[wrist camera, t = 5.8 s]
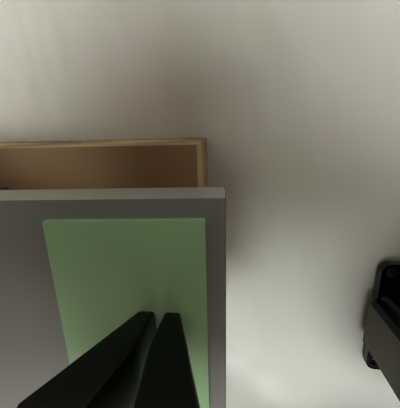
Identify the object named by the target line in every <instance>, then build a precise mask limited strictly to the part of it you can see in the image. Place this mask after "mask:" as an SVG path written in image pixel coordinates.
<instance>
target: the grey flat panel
mask: <svg viewBox="0 0 400 408" xmlns="http://www.w3.org/2000/svg"><path fill="white" fill-rule="evenodd" d="M139 311H152V312H154V314H155V319H156V331H157V329H158V327H159V324H160V322H161V320H162V318H163V316H164V314H165V313H167V312H172V313H180V315H181V319H182V324H183V329H184V333H185V338H186V343H187V347H188V352H189V357H190V361H191V366H192V371H193V375H194V380H195V385H196V389H197V394H198V399H199V403H200V408H226V197H225V189H224V187H177V188H106V189H35V190H0V408H14V407H15V408H17V405H18V404H19V403H20V402H22V401H23V400H24V399H26V398H27V397H28V396H29V395H31V394H32V393H33V392H35V391H36V390H37V389H39V388H40V387H41V386H42V385H44V384H45V383H46V382H48V381H49V380H50V379H52V378H53V377H54V376H55V375H57V374H58V373H59V372H61V371H62V370H63V369H65V368H66V367H67V366H69V365H70V364H71V363H72V362H74V361H75V360H76V359H78V358H79V357H80V356H82V355H83V354H84V353H85V352H87V351H88V350H89V349H91V348H92V347H93V346H95V345H96V344H97V343H98V342H100V341H101V340H102V339H104V338H105V337H106V336H108V335H109V334H110V333H111V332H113V331H114V330H115V329H117V328H118V327H119V326H121V325H122V324H123V323H125V322H126V321H127V320H128V319H130V318H131V317H132V316H134V315H135V314H136V313H138V312H139Z"/></svg>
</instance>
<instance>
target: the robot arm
mask: <svg viewBox="0 0 400 408" xmlns="http://www.w3.org/2000/svg"><path fill="white" fill-rule="evenodd" d="M390 269H393V271H392V272H391V273H390V274H387V272H388V271H389V270H390ZM363 342H364V343H365V347H364V353H363V359H364V361H365V362H366V364H367V366H368V367H370V368H372V369H380V370H381V371H382V373H383V375H384V376H385V378H386V380H387V381H388V383H389V384H390V386H391V388H392V389H393V391H394V393H395V394H396V396H397V398H398V399H399V401H400V261H385V262H383V263H381V264H380V265H379V267H378V269H377V275H376V281H375V287H374V293H373V299H372V300H371V301H370V302H369V306H368V312H367V318H366V324H365V330H364V336H363ZM372 359H374V360H372ZM14 408H15V407H14ZM17 408H200V403H199V399H198V394H197V389H196V385H195V380H194V375H193V371H192V366H191V361H190V357H189V352H188V347H187V343H186V338H185V333H184V329H183V324H182V319H181V315H180V313H172V312H167V313H165V314H164V316H163V318H162V320H161V322H160V324H159V327H158V329H157V331H156V319H155V314H154V312H152V311H139V312H138V313H136V314H135V315H134V316H132V317H131V318H130V319H128V320H127V321H126V322H125V323H123V324H122V325H121V326H119V327H118V328H117V329H115V330H114V331H113V332H111V333H110V334H109V335H108V336H106V337H105V338H104V339H102V340H101V341H100V342H98V343H97V344H96V345H95V346H93V347H92V348H91V349H89V350H88V351H87V352H85V353H84V354H83V355H82V356H80V357H79V358H78V359H76V360H75V361H74V362H72V363H71V364H70V365H69V366H67V367H66V368H65V369H63V370H62V371H61V372H59V373H58V374H57V375H55V376H54V377H53V378H52V379H50V380H49V381H48V382H46V383H45V384H44V385H42V386H41V387H40V388H39V389H37V390H36V391H35V392H33V393H32V394H31V395H29V396H28V397H27V398H26V399H24V400H23V401H22V402H20V403H19V404H18V405H17Z"/></svg>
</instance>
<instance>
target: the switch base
mask: <svg viewBox="0 0 400 408" xmlns="http://www.w3.org/2000/svg"><path fill="white" fill-rule="evenodd" d="M177 187H207V177H206V138H194V139H147V140H101V141H55V142H9V143H0V190H35V189H106V188H177Z"/></svg>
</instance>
